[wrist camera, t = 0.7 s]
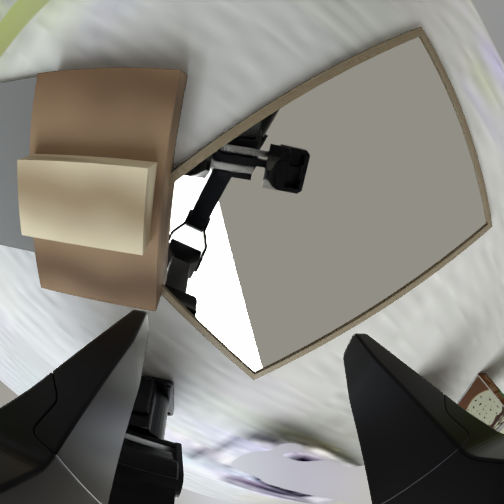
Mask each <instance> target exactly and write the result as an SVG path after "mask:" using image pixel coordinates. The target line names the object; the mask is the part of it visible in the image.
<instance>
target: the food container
mask: <svg viewBox="0 0 504 504" xmlns="http://www.w3.org/2000/svg"><path fill="white" fill-rule="evenodd" d="M457 404H458V405H459V406H460V407H462V408H463V409H465V410H466V411H468V412H469V413H470V414H472V415H473V416H475V417H476V418H478V419H480V420H481V421H483V422H484V423H486V424H487V425H489V426H490V427H492V428H493V429H495V430H496V431H498V432H500V431H501V430H502V428H504V394H503V393H502V392H501V391H500V389H499V388H498V387H497V386H496V385H495V384H494V382H493V381H492V380H491V379H490V378H489V377H488V375H487V374H486V373H479V374H477V376H476V377H475V379H474V380H473V382H472V383H471V385H470V386H469V387H468V389H467V390H466V392H465V393H464V395H463V396H462V397H461V399H460V400H459V401H458V403H457Z"/></svg>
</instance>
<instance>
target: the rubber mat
mask: <svg viewBox="0 0 504 504" xmlns="http://www.w3.org/2000/svg"><path fill="white" fill-rule="evenodd" d="M36 79H37V77H33V78H26V79H20V80H14V81H9V82H4V83H0V245H5V246H9V247H14V248H19V249H23V250H28V251H33V252H35V247H34V239H33V237H30V236H24V235H22V233H21V225H20V214H19V201H18V180H17V160H18V159H21V158H24V157H27V156H29V153H30V132H31V119H32V109H33V100H34V92H35V86H36Z"/></svg>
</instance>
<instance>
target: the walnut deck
mask: <svg viewBox="0 0 504 504" xmlns="http://www.w3.org/2000/svg"><path fill="white" fill-rule="evenodd" d="M186 81H187V75H186V74H185V73H184V72H183V71H182V70H174V69H159V68H89V69H74V70H63V71H53V72H45V73H38V74H37V79H36V86H35V92H34V100H33V109H32V119H31V132H30V153H29V156H30V155H33V154H55V155H77V156H93V157H107V158H119V159H130V160H141V161H150V162H157V169H156V178H155V188H154V199H153V211H152V226H151V241H150V243H149V245H148V246H147V248H146V250H145V252H144V253H143V255H137V254H131V253H124V252H118V251H112V250H106V249H100V248H94V247H87V246H82V245H76V244H70V243H64V242H58V241H52V240H47V239H41V238H35V237H33V239H34V247H35V255H36V261H37V267H38V273H39V279H40V284H41V288H45V289H49V290H53V291H57V292H62V293H66V294H70V295H75V296H79V297H84V298H88V299H93V300H98V301H103V302H108V303H113V304H118V305H123V306H128V307H134V308H139V309H145V310H151V311H156V309H157V306H158V303H159V300H160V297H161V285H162V267H163V251H164V236H165V224H166V213H167V203H168V193H169V180H170V174H171V173H172V166H173V159H174V152H175V145H176V138H177V132H178V125H179V119H180V113H181V108H182V102H183V97H184V91H185V86H186Z"/></svg>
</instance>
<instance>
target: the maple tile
mask: <svg viewBox="0 0 504 504" xmlns="http://www.w3.org/2000/svg"><path fill="white" fill-rule="evenodd" d="M156 169H157V162H150V161H141V160H130V159H119V158H107V157H93V156H77V155H55V154H33V155H30V156H27V157H24V158H21V159H18V160H17V180H18V201H19V214H20V225H21V233H22V235H24V236H30V237H35V238H41V239H47V240H52V241H58V242H64V243H70V244H76V245H82V246H87V247H94V248H100V249H106V250H112V251H118V252H124V253H131V254H137V255H143V253H144V252H145V250H146V248H147V246H148V245H149V243H150V241H151V226H152V211H153V199H154V188H155V178H156Z"/></svg>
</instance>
